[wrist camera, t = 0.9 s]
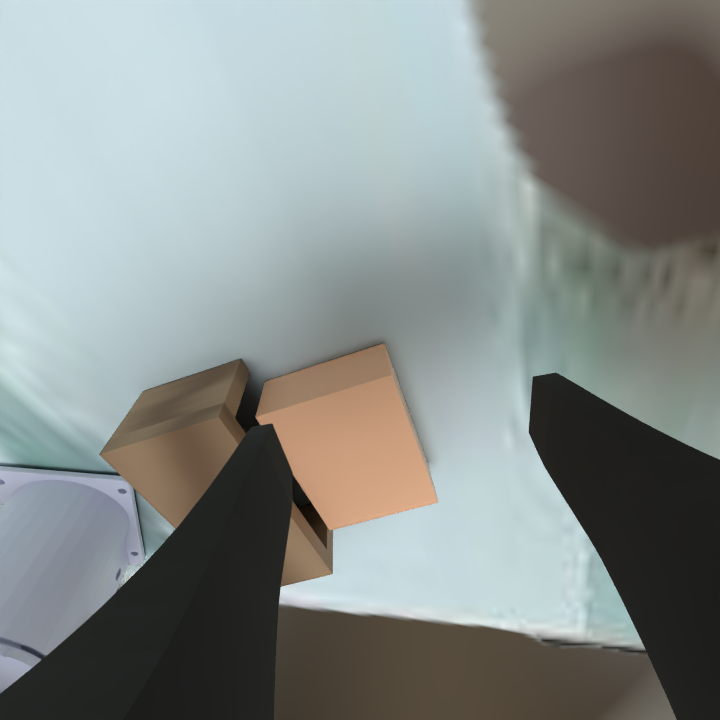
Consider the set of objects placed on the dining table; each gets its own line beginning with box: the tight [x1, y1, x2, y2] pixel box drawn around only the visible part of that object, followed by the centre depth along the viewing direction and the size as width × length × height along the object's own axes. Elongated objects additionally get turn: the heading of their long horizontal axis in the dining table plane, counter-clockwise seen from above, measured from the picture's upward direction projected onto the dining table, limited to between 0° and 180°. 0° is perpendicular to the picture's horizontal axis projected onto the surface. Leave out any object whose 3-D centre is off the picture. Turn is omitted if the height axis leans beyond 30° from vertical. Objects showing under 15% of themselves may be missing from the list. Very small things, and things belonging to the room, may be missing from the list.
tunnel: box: [99, 359, 333, 586], centre depth 22 cm, size 6×14×5 cm, turn 19°
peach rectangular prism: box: [256, 343, 438, 530], centre depth 22 cm, size 7×10×3 cm
